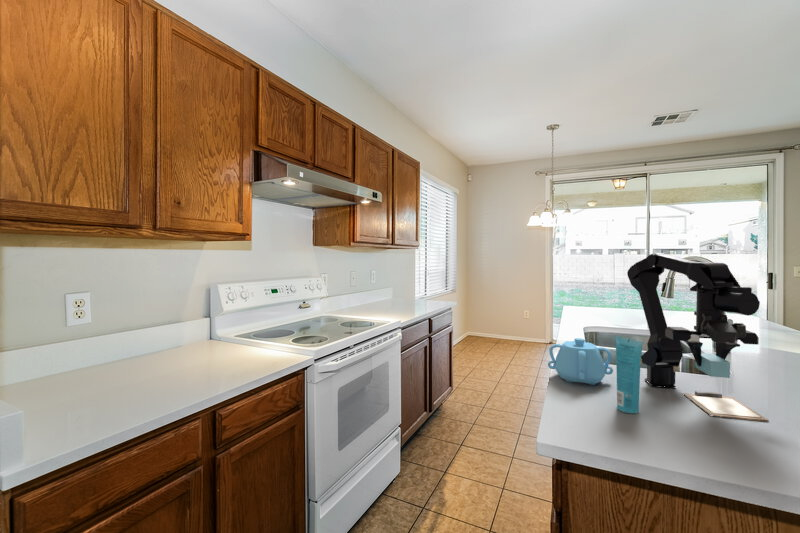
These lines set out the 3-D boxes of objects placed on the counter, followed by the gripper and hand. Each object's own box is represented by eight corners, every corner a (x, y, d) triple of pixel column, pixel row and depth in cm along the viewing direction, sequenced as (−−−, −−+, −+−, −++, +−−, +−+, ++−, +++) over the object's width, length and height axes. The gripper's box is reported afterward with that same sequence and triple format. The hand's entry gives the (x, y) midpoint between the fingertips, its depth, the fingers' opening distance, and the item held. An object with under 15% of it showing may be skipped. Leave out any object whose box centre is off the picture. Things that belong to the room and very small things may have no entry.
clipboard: (710, 416, 93) (710, 410, 93) (682, 394, 107) (682, 389, 107) (768, 421, 90) (769, 416, 90) (732, 398, 104) (732, 393, 104)
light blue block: (729, 377, 93) (730, 362, 92) (710, 376, 94) (711, 361, 94) (709, 366, 102) (709, 352, 102) (692, 365, 103) (692, 351, 103)
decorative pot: (619, 385, 116) (620, 342, 115) (578, 390, 111) (579, 346, 111) (580, 369, 131) (581, 332, 131) (543, 374, 127) (543, 335, 126)
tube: (647, 413, 95) (648, 340, 94) (637, 417, 93) (638, 342, 92) (618, 403, 101) (619, 334, 101) (608, 407, 99) (608, 337, 98)
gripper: (682, 312, 93) (681, 373, 93) (774, 315, 87) (772, 379, 88) (664, 306, 104) (664, 360, 104) (745, 308, 98) (744, 366, 99)
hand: (708, 366), depth 98 cm, fingers closed on light blue block, 4 cm apart
